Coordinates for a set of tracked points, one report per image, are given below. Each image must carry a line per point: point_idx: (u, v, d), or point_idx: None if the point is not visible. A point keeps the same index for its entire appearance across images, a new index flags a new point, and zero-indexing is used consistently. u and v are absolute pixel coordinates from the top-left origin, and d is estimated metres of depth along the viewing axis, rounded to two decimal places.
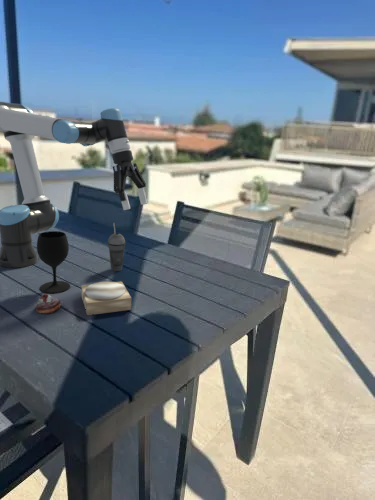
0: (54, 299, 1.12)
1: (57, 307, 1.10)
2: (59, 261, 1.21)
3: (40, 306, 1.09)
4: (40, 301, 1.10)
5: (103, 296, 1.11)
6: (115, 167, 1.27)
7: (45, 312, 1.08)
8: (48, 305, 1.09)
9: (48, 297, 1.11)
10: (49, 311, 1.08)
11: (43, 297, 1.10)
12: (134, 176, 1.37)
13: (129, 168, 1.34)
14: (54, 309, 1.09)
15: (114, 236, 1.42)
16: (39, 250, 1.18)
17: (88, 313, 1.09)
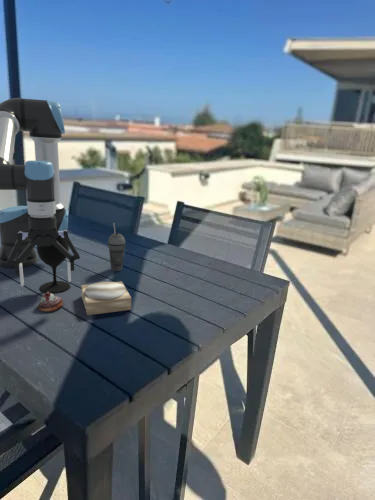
0: (56, 297, 1.13)
1: (59, 305, 1.11)
2: (59, 261, 1.21)
3: (42, 304, 1.10)
4: (43, 299, 1.11)
5: (103, 296, 1.11)
6: (17, 234, 1.02)
7: (47, 310, 1.09)
8: (50, 303, 1.10)
9: (50, 295, 1.12)
10: (51, 309, 1.10)
11: (45, 295, 1.11)
12: (56, 247, 1.06)
13: (46, 237, 1.04)
14: (56, 307, 1.10)
15: (114, 236, 1.42)
16: (39, 250, 1.18)
17: (88, 313, 1.09)
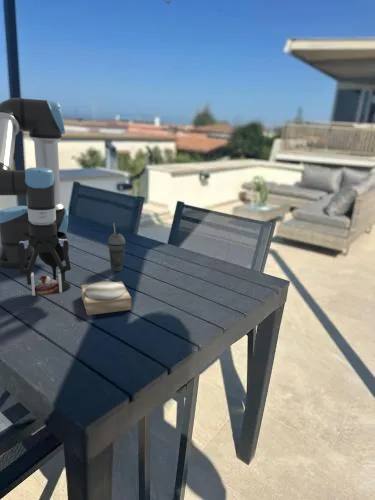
0: (53, 280, 1.12)
1: (56, 288, 1.11)
2: None
3: (39, 287, 1.09)
4: (39, 282, 1.10)
5: (103, 296, 1.11)
6: None
7: (44, 293, 1.09)
8: (47, 286, 1.09)
9: (47, 278, 1.11)
10: (48, 292, 1.09)
11: (42, 278, 1.10)
12: (52, 255, 1.07)
13: (46, 243, 1.04)
14: (53, 290, 1.10)
15: (114, 236, 1.42)
16: None
17: (88, 313, 1.09)
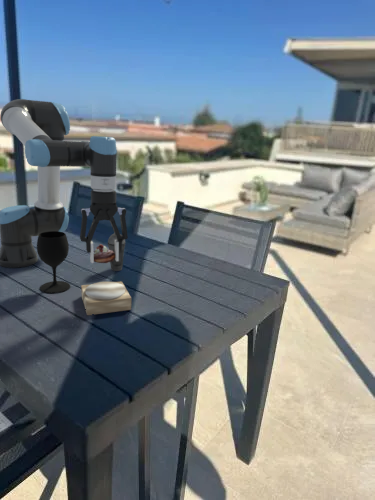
0: (109, 250, 1.15)
1: (113, 257, 1.13)
2: (59, 261, 1.21)
3: (97, 255, 1.12)
4: (96, 251, 1.13)
5: (103, 296, 1.11)
6: (81, 212, 1.06)
7: (102, 261, 1.11)
8: (105, 254, 1.12)
9: (104, 247, 1.13)
10: (106, 260, 1.11)
11: (99, 247, 1.13)
12: (111, 223, 1.09)
13: (106, 211, 1.07)
14: (110, 259, 1.12)
15: (114, 236, 1.42)
16: (39, 250, 1.18)
17: (88, 313, 1.09)
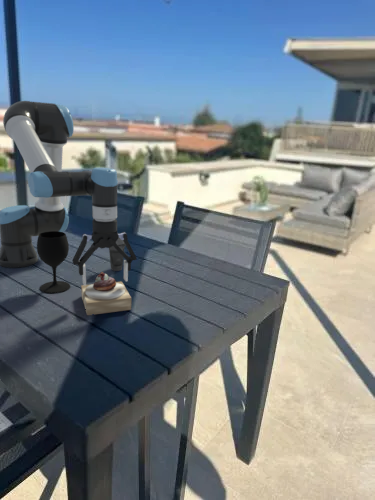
0: (110, 278, 1.18)
1: (113, 285, 1.16)
2: (59, 261, 1.21)
3: (98, 284, 1.15)
4: (98, 279, 1.16)
5: (103, 296, 1.11)
6: (82, 237, 1.08)
7: (103, 289, 1.14)
8: (106, 283, 1.15)
9: (105, 275, 1.17)
10: (107, 288, 1.15)
11: (100, 275, 1.16)
12: None
13: (107, 240, 1.10)
14: (111, 287, 1.15)
15: None
16: (39, 250, 1.18)
17: (88, 313, 1.09)
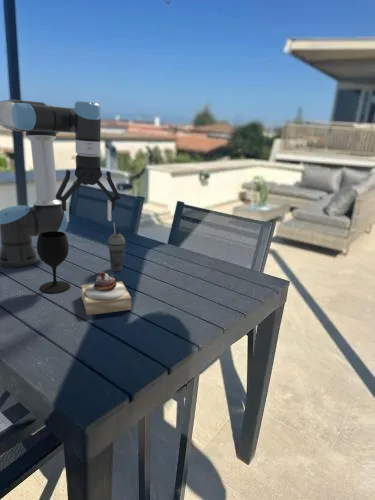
0: (110, 277, 1.18)
1: (114, 285, 1.17)
2: (59, 261, 1.21)
3: (99, 283, 1.15)
4: (98, 279, 1.16)
5: (103, 296, 1.11)
6: (65, 172, 1.09)
7: (103, 289, 1.15)
8: (106, 282, 1.15)
9: (105, 275, 1.17)
10: (107, 288, 1.15)
11: (101, 275, 1.16)
12: (99, 186, 1.14)
13: (91, 176, 1.11)
14: (111, 286, 1.16)
15: (114, 236, 1.42)
16: (39, 250, 1.18)
17: (88, 313, 1.09)
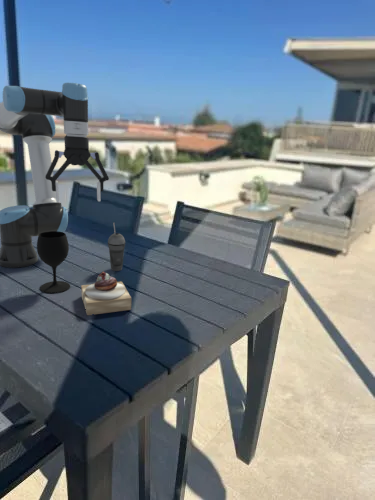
0: (111, 277, 1.18)
1: (114, 285, 1.17)
2: (59, 261, 1.21)
3: (99, 283, 1.15)
4: (99, 278, 1.16)
5: (103, 296, 1.11)
6: (55, 152, 1.12)
7: (104, 289, 1.15)
8: (106, 282, 1.15)
9: (106, 275, 1.17)
10: (107, 288, 1.15)
11: (101, 275, 1.17)
12: (88, 167, 1.17)
13: (79, 157, 1.15)
14: (112, 286, 1.16)
15: (114, 236, 1.42)
16: (39, 250, 1.18)
17: (88, 313, 1.09)
